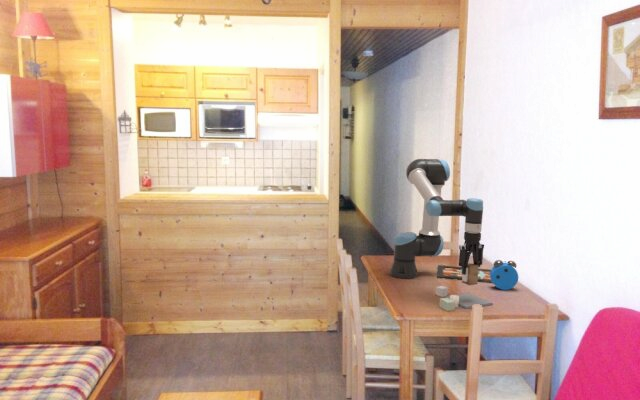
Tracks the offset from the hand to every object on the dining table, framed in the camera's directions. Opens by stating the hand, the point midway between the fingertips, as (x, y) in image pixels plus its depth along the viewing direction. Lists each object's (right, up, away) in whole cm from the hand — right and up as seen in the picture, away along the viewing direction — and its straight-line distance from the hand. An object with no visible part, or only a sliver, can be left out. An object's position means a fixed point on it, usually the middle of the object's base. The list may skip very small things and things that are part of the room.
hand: (469, 280), depth 252 cm
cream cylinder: (-9, -11, -6) cm, 15 cm away
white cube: (-11, -9, +11) cm, 18 cm away
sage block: (-13, -11, -9) cm, 20 cm away
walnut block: (0, -1, 0) cm, 1 cm away
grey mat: (0, -10, +1) cm, 10 cm away
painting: (+13, -5, +51) cm, 53 cm away
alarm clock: (+24, -8, +25) cm, 36 cm away
